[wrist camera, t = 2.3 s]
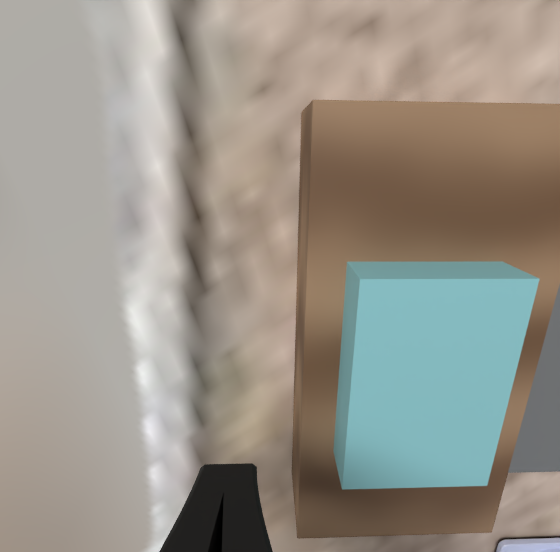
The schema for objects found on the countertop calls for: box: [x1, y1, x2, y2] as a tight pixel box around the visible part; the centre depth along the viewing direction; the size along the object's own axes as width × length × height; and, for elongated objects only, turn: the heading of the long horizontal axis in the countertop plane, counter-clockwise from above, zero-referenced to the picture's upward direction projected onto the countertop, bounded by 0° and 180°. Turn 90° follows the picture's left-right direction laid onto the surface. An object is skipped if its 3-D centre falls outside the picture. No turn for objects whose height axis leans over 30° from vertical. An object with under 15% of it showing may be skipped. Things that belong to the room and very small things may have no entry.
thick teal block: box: [333, 261, 539, 490], centre depth 14 cm, size 9×6×2 cm, turn 0°
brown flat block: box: [292, 100, 560, 538], centre depth 17 cm, size 20×10×4 cm, turn 0°
